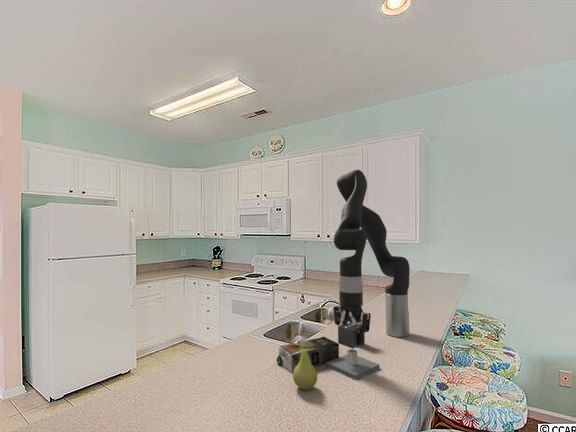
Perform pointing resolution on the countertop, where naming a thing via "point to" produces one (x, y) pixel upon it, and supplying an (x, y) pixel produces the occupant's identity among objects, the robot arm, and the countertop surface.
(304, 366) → the fruit
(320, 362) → the juice carton
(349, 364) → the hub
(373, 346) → the countertop surface
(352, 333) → the knob
